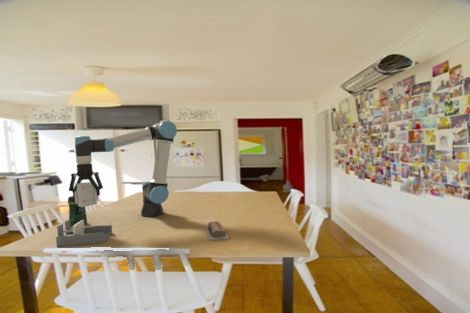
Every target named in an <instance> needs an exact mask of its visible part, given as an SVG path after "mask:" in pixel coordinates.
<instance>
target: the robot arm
mask: <svg viewBox="0 0 470 313" xmlns="http://www.w3.org/2000/svg"><path fill="white" fill-rule="evenodd" d="M177 132H178V128H177V126H176V124H175V123H174V122H172V121H171V120H163V121H160V122H157V123H155V124H153V125H150V126H146V127H145V128H144V129H140V130H135V131H134V130H133V131H130V132H127V133H123V134H118V135H115V136H109V137H106V138H102V139H101V138H100V139H91V137H90V136H89V135H85V136H84V135H83V136H80V135H79V136H77V135H76V136H75V138H74V147H75V159H76V172H73V173H71V174H70V176H71V178H70V183H69V188H68V191H69V192H72V196H73V197H75V203H78V201H77V189H76V188H77V184H79V183H82V182H83V181H84V180H86V181H87V180H88V182H91V183H92V185H93V186H94V188H95V189H96V190H95V202H97V203H98V202H99V196H101V190H102V189H104V186H103V184H102V181H101V178H100V174H99V173H100V172H99V171H97V172H94V171H93V162H92V153H111V152H114V150H115V149H117V148H121V147H125V146H129V145H132V144H135V143H141V142H144V141H156V150H155V157H154V165H153V172H152V179H151V180H149V181H145V182H143V183H142V185H141V187H142V203H143V204H142V207H141V210H140V216H141V217H146V218H150V217H157V216H160V215H163V214H164V208H163V206H162V204H163V203H165V202H166V201H167V200H168V198H169V194H170V193H169V190H168V186H169V185H168V184H169V183H168V181H167V172H168V167H169V160H170V159H169V158H170V153H171V152H170V150H171V145H172V144H174V139H175V137H176V135H177ZM93 176H94V178H95V179H94V178H93ZM77 177H78V178H77ZM76 179H77V180H76ZM95 180H96V181H95Z"/></svg>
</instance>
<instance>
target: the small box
mask: <svg viewBox="0 0 470 313" xmlns="http://www.w3.org/2000/svg"><path fill="white" fill-rule="evenodd" d="M76 189H77V201H78V206H80V207H85V208H86V207H90V206H96V205H98V202H95V190H96V189H95V188H94V186H93V185H92V183H91V182H90V181H86V182H85V181H84V182H81V183H79V184H77V188H76Z"/></svg>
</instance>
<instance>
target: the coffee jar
mask: <svg viewBox="0 0 470 313" xmlns="http://www.w3.org/2000/svg"><path fill="white" fill-rule="evenodd" d="M67 205H68V208H69V209H68V219H70V227H73V225H75V224H76V223H78V222H79V221H81V220H84V225H85V224H86V223H87V222H88V217H87V212H86V211H87V210H86V207H80V206H78V203H75V197H73V195H72V196H69V197H68V198H67Z"/></svg>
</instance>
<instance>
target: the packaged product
mask: <svg viewBox="0 0 470 313" xmlns="http://www.w3.org/2000/svg"><path fill="white" fill-rule="evenodd" d="M204 230H205V233H206V235H207V238H208V240H209V241H210V242H211V241H220V240H228V239H229V238H230V237H229V235H228V233H227V232H226V230H225V228H224V227H223V225H222V224H221V222H220V221H211V222H208V224H207V226H206V227H204Z"/></svg>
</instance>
